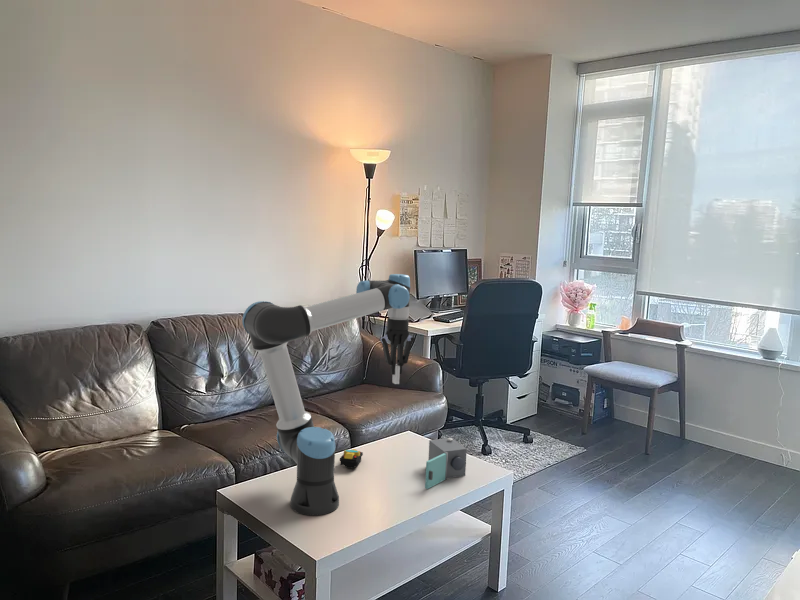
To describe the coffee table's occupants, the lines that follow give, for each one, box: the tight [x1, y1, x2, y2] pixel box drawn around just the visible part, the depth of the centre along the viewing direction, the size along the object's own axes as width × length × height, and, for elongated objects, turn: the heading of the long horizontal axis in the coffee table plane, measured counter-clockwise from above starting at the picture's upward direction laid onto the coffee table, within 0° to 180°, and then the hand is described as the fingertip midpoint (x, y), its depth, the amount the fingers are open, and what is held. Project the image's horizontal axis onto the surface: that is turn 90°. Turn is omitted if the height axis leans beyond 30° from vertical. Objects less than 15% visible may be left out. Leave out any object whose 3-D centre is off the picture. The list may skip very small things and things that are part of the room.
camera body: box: [427, 437, 467, 479], centre depth 221 cm, size 9×14×11 cm, turn 23°
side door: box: [424, 452, 448, 490], centre depth 209 cm, size 12×2×10 cm, turn 142°
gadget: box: [339, 448, 364, 469], centre depth 225 cm, size 6×13×6 cm, turn 171°
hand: (395, 383), depth 217 cm, fingers closed
